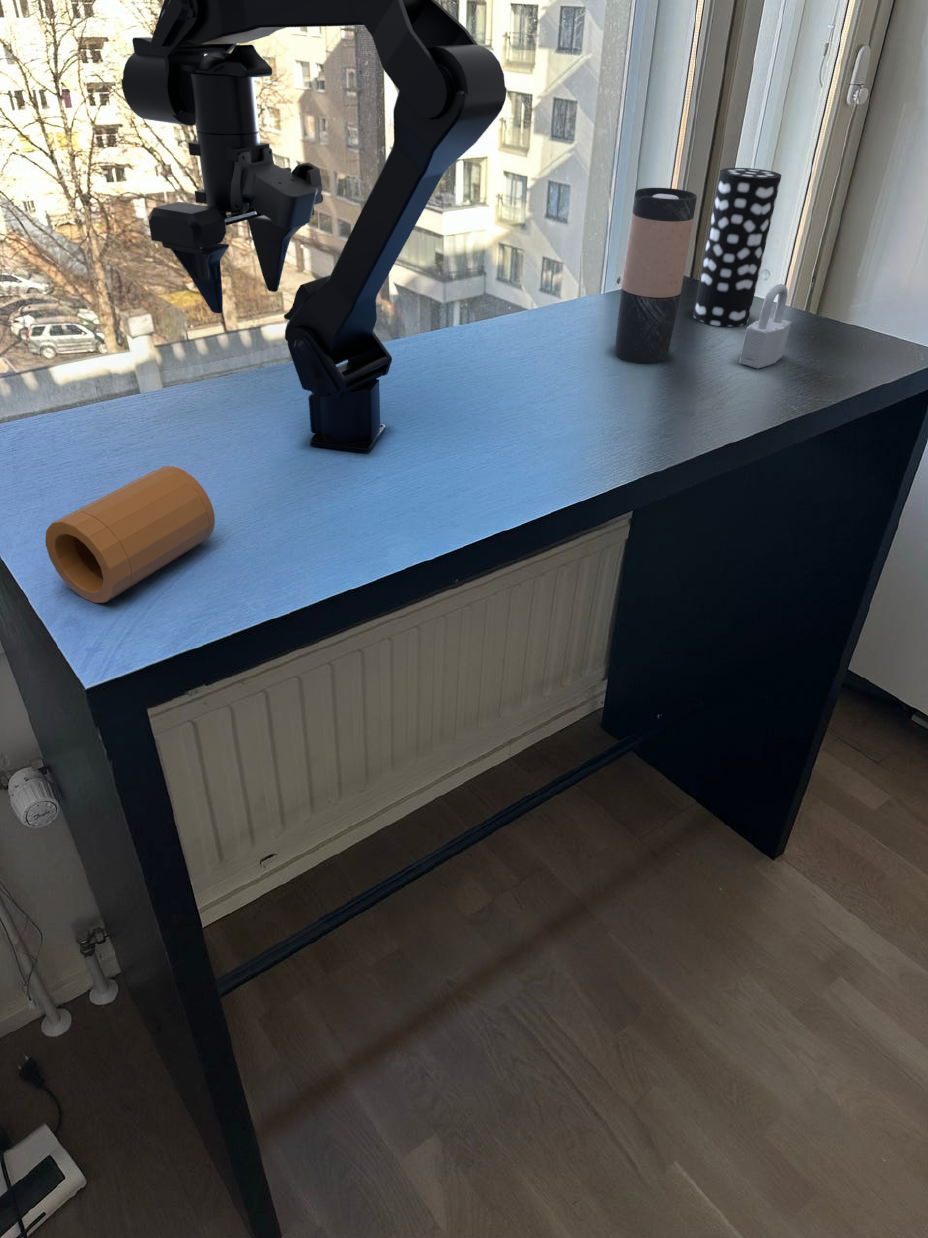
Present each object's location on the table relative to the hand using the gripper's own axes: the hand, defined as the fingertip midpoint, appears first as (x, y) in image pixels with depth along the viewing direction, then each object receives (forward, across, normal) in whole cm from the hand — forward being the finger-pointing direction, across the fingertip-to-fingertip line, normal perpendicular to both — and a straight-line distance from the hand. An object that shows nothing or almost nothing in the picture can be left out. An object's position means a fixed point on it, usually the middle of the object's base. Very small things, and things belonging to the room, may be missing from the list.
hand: (246, 301), depth 90 cm
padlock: (+12, +49, -47) cm, 69 cm away
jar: (+9, -25, -12) cm, 29 cm away
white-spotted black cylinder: (+12, +65, -38) cm, 76 cm away
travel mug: (+12, +42, -32) cm, 54 cm away
